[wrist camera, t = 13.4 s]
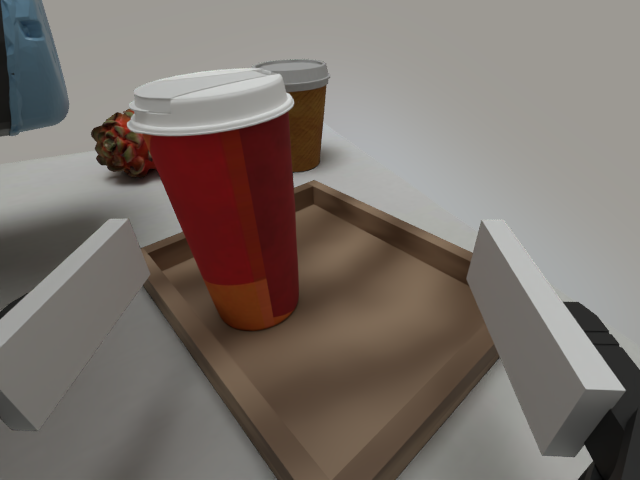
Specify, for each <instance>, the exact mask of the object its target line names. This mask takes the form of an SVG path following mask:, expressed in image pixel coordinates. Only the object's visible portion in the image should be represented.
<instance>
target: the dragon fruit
mask: <svg viewBox="0 0 640 480" xmlns="http://www.w3.org/2000/svg"><path fill="white" fill-rule="evenodd" d="M123 113H124V114H121V113H118V112H117V113H115V114H114V115H112V116H111V117H110V118H108V119H107V120H106V122H104V123H103V125H102V126H99V127H96V128H94V129H93V130H92V132H91V135H92V137H93V138H94V140H95V141H96V142H97V144H96V147H95V150H96V152H97V153H98V156H97V158H96V159H97V161H98V163H99V164H101V165H107V168H108V169H109V170H110V171H113V172H117V171H123V170H124V172H125V173H126V174H127V175H129V176H132V177H138V178H142V177H144V176H145V175H146V174H147V173H148V170H149V169H155V170H157V169H156V166H155V164H154V161H153V159H152V157H151V154H150V152H149V150H148V147H147V145H146V143H145V140H144V138H143V135H142V134H141V133H134V132H132V131H130V130H129V128H128V127H127V122H129V121H130V120H131V117H132V115H133V114H135V113H134V111H132V110H131V109H128V110H126V111H124V112H123Z"/></svg>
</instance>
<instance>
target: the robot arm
mask: <svg viewBox="0 0 640 480" xmlns="http://www.w3.org/2000/svg"><path fill="white" fill-rule="evenodd" d="M68 109H69V100H68V95H67V90H66V86H65V81H64V77H63V73H62V70H61V66H60V62H59V58H58V55H57V51H56V47H55V44H54V41H53V37H52V33H51V30H50V27H49V23H48V20H47V17H46V13H45V10H44V6H43V3H42V0H0V136H7V135H9V136H14V135H18V134H19V132H23V131H28V130H33V129H38V128H43V127H48V126H53V125H56V124H58V123H60V122H61V121H62V120H63V119H64V118H65V117H66V115H67V113H68ZM149 276H150V272H149V269H148V267H147V264H146V261H145V259H144V256H143V254H142V251H141V249H140V246H139V244H138V241H137V239H136V236H135V234H134V231H133V228H132V226H131V223H130V221H129V219H109V220H108V221H106V222H105V223H104V224H103V225H102V226H101V227H100V228H99V229H98V230H97V231H96V232H95V233H93V234H92V235H91V236H90V237H89V238H88V239H87V240H86V241H85V242H84V243H83V244H82V245H80V246H79V247H78V248H77V249H76V250H75V251H74V252H73V253H72V254H71V255H70V256H69V257H67V258H66V259H65V260H64V261H63V262H62V263H61V264H60V265H59V266H58V267H57V268H56V269H54V270H53V271H52V272H51V273H50V274H49V275H48V276H47V277H46V278H45V279H44V280H43V281H41V282H40V283H39V284H38V285H37V286H36V287H35V288H34V289H33V290H32V291H31V292H30V293H27V294H25V295H23V296H22V297H20V298H18V299H17V300H15V301H13V302H12V303H10V304H9V305H8V306H6V307H5V308H4V309H3V310H2V311H1V312H0V419H1V420H2V421H3V422H4V423H5V424H6V425H7V426H8V427H9V428H10V429H11V430H22V431H39V430H40V428H41V427H42V425H43V424H44V423H45V421H46V420H47V418H48V417H49V416H50V414H51V413H52V411H53V410H54V409H55V407H56V406H57V405H58V403H59V402H60V400H61V399H62V398H63V396H64V395H65V393H66V392H67V391H68V389H69V388H70V386H71V385H72V384H73V382H74V381H75V379H76V378H77V377H78V375H79V374H80V372H81V371H82V370H83V368H84V367H85V365H86V364H87V363H88V361H89V360H90V358H91V357H92V356H93V354H94V353H95V351H96V350H97V349H98V347H99V346H100V344H101V343H102V342H103V340H104V339H105V337H106V336H107V335H108V333H109V332H110V330H111V329H112V328H113V326H114V325H115V323H116V322H117V321H118V319H119V318H120V316H121V315H122V314H123V312H124V311H125V309H126V308H127V307H128V305H129V304H130V302H131V301H132V300H133V298H134V297H135V295H136V294H137V293H138V291H139V290H140V288H141V287H142V286H143V284H144V283H145V281H146V280H147V279H148V277H149ZM466 279H467V282H468V284H469V286H470V289H471V291H472V293H473V296H474V298H475V300H476V303H477V305H478V307H479V310H480V312H481V314H482V317H483V319H484V321H485V324H486V326H487V328H488V331H489V333H490V335H491V338H492V340H493V342H494V345H495V347H496V349H497V352H498V354H499V356H500V359H501V361H502V363H503V366H504V368H505V370H506V373H507V375H508V377H509V380H510V382H511V384H512V387H513V389H514V391H515V394H516V396H517V398H518V401H519V403H520V405H521V408H522V410H523V412H524V415H525V417H526V419H527V422H528V424H529V426H530V429H531V431H532V433H533V436H534V438H535V440H536V443H537V445H538V447H539V450H540V452H541V454H542V456H562V457H575V456H576V455H577V454H578V452H579V451H580V450H581V448H582V447H583V446H584V445H585V446H586V448H587V450H588V452H589V454H590V456H591V457H592V459H593V462H592V463H591V464H590V465H589V467H588V468H587V469H586V470H585V471H584V473H583V474H582V475H581V476H580V478H579V479H578V480H640V370H639V368H638V367H637V366H636V365H635V363H634V362H633V361H632V360H631V358H630V357H629V356H628V354H627V353H626V352H625V351H624V349H623V348H622V347H619V343H618V342H617V341H616V339H615V338H614V337H613V336H612V334H609V330H608V329H607V328H606V327H605V325H604V324H603V323H602V322H601V320H600V319H599V318H598V317H597V315H595V314H594V313H593V312H591V311H590V310H589V309H587V308H586V307H584V306H583V305H582V304H580V303H579V302H562V300H561V299H560V298H559V296H558V295H557V293H556V292H555V291H554V289H553V288H552V286H551V285H550V284H549V282H548V281H547V279H546V278H545V277H544V275H543V274H542V272H541V271H540V270H539V268H538V267H537V266H536V264H535V263H534V261H533V260H532V258H531V257H530V256H529V254H528V253H527V251H526V250H525V249H524V247H523V246H522V245H521V243H520V242H519V240H518V239H517V237H516V236H515V235H514V234H513V232H512V230H511V229H510V228H509V226H508V225H507V223H506V222H505V221H504V220H481V224H480V228H479V232H478V236H477V239H476V243H475V247H474V251H473V255H472V259H471V263H470V266H469V270H468V274H467V278H466Z"/></svg>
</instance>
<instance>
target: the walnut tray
mask: <svg viewBox="0 0 640 480" xmlns="http://www.w3.org/2000/svg"><path fill="white" fill-rule="evenodd" d="M294 198H295V213H296V239H297V256H298V275H299V299H298V303H297V306H296V308H295V309H294V311H293V312H292V313H291V314H290V315H289V316H288V317H287V318H286V319H285V320H283V321H282V322H280V323H279V324H277V325H275V326H272V327H269V328H266V329H262V330H256V331H245V330H239V329H235V328H233V327H231V326H229V325H228V324H226V323H225V322H224V321H223V320H222V318H221V317H220V315H219V313H218V311H217V309H216V307H215V305H214V303H213V300H212V298H211V296H210V294H209V291H208V289H207V287H206V284H205V282H204V280H203V277H202V275H201V273H200V271H199V268H198V266H197V263H196V261H195V259H194V256H193V254H192V252H191V249H190V247H189V245H188V242H187V240H186V238H185V235H184V233H183V232H181V233H179V234H176V235H173V236H171V237H168V238H166V239H163V240H161V241H158V242H156V243H153V244H151V245H148V246H146V247H143V248H140V249H141V251H142V254H143V256H144V259H145V261H146V264H147V267H148V269H149V272H150V276H149V277H148V279H147V280H146V281H145V283H144V284H143V286H144V288H145V289H146V290H147V292H148V293H149V295H150V296H151V298H152V299H153V300H154V302H155V303H156V305H157V306H158V308H159V309H160V311H161V312H162V313H163V315H164V316H165V318H166V319H167V321H168V322H169V324H170V325H171V326H172V328H173V329H174V331H175V332H176V334H177V335H178V337H179V338H180V339H181V341H182V342H183V344H184V345H185V347H186V348H187V349H188V351H189V352H190V354H191V355H192V357H193V358H194V360H195V361H196V362H197V364H198V365H199V367H200V368H201V370H202V371H203V373H204V374H205V375H206V377H207V378H208V380H209V381H210V383H211V384H212V386H213V387H214V388H215V390H216V391H217V393H218V394H219V396H220V397H221V398H222V400H223V401H224V403H225V404H226V406H227V407H228V409H229V410H230V411H231V413H232V414H233V416H234V417H235V419H236V420H237V422H238V423H239V424H240V426H241V427H242V429H243V430H244V432H245V433H246V434H247V436H248V437H249V439H250V440H251V442H252V443H253V445H254V446H255V447H256V449H257V450H258V452H259V453H260V455H261V456H262V458H263V459H264V460H265V462H266V463H267V465H268V466H269V468H270V469H271V471H272V472H273V473H274V475H275V476H276V478H277V479H278V480H395V479H396V478H397V477H398V476H399V475H400V473H401V472H402V471H403V470H404V469H405V468H406V466H407V465H408V464H409V463H410V462H411V461H412V459H413V458H414V457H415V456H416V455H417V454H418V452H419V451H420V450H421V449H422V448H423V447H424V445H425V444H426V443H427V442H428V441H429V439H430V438H431V437H432V436H433V435H434V434H435V432H436V431H437V430H438V429H439V428H440V427H441V425H442V424H443V423H444V422H445V421H446V420H447V418H448V417H449V416H450V415H451V414H452V412H453V411H454V410H455V409H456V408H457V407H458V405H459V404H460V403H461V402H462V401H463V400H464V398H465V397H466V396H467V395H468V394H469V393H470V391H471V390H472V389H473V388H474V387H475V386H476V384H477V383H478V382H479V381H480V380H481V378H482V377H483V376H484V375H485V374H486V373H487V371H488V370H489V369H490V368H491V367H492V366H493V364H494V363H495V362H496V361H497V360H498V359H499V357H500V356H499V354H498V352H497V349H496V347H495V345H494V342H493V340H492V338H491V335H490V333H489V331H488V328H487V326H486V324H485V321H484V319H483V317H482V314H481V312H480V310H479V307H478V305H477V303H476V300H475V298H474V296H473V293H472V291H471V289H470V286H469V284H468V282H467V279H466V278H467V274H468V270H469V266H470V263H471V259H472V255H473V253H472V252H470V251H467V250H465V249H463V248H461V247H459V246H457V245H454V244H452V243H450V242H448V241H446V240H443V239H441V238H439V237H437V236H435V235H433V234H430V233H428V232H426V231H424V230H422V229H420V228H417V227H415V226H413V225H411V224H409V223H407V222H404V221H402V220H400V219H398V218H396V217H393V216H391V215H389V214H387V213H385V212H383V211H380V210H378V209H376V208H374V207H372V206H370V205H367V204H365V203H363V202H361V201H359V200H356V199H354V198H352V197H350V196H348V195H346V194H343V193H341V192H339V191H337V190H335V189H333V188H330V187H328V186H326V185H324V184H322V183H319V182H317V181H315V180H313V181H310V182H308V183H305V184H303V185H300V186H298V187H295V188H294Z"/></svg>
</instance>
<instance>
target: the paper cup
mask: <svg viewBox="0 0 640 480" xmlns="http://www.w3.org/2000/svg"><path fill="white" fill-rule="evenodd" d="M134 96H135V100H134V101H132V102H130V103H129V108H130V109H131V110H132V111H134V113H135V114H133V115H132V117H131V120H130V121H129V122H127V127H128V128H129V130H130V131H132V132H134V133H141V134H142V135H143V138H144V140H145V143H146V145H147V147H148V150H149V152H150V154H151V157H152V159H153V161H154V164H155V166H156V169H157V171H158V173H159V176H160V178H161V180H162V183H163V185H164V188H165V190H166V192H167V195H168V197H169V200H170V202H171V204H172V207H173V209H174V211H175V214H176V216H177V219H178V221H179V223H180V226H181V228H182V230H183V233H184V235H185V238H186V240H187V242H188V245H189V247H190V249H191V252H192V254H193V256H194V259H195V261H196V263H197V266H198V268H199V271H200V273H201V275H202V277H203V280H204V282H205V284H206V287H207V289H208V291H209V294H210V296H211V298H212V300H213V303H214V305H215V307H216V309H217V311H218V313H219V315H220V317H221V318H222V320H223V321H224V322H225V323H226V324H228V325H229V326H231V327H233V328H235V329H239V330H245V331H256V330H262V329H266V328H269V327H272V326H275V325H277V324H279V323H280V322H282V321H283V320H285V319H286V318H287V317H288V316H289V315H290V314H291V313H292V312H293V311H294V309H295V308H296V306H297V303H298V299H299V275H298V256H297V239H296V213H295V198H294V185H293V173H292V159H291V143H290V127H289V112H288V111H289V110H290V109H291V108H292V107H293V106H294V100H293V99H292V96H291V95H290V94H288V93H286V90H285V86H284V82H283V78H282V76H281V75H280V74H277V73H274V72H271V71H267V70H263V69H259V68H240V69H223V70H212V71H204V72H196V73H191V74H184V75H179V76H173V77H169V78H164V79H160V80H156V81H153V82H150V83H147V84H144V85H142V86H140V87H138V88H136V89H135V90H134Z"/></svg>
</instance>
